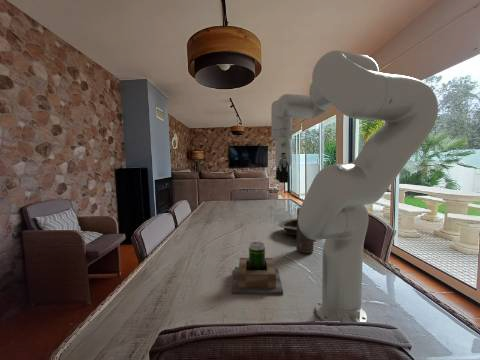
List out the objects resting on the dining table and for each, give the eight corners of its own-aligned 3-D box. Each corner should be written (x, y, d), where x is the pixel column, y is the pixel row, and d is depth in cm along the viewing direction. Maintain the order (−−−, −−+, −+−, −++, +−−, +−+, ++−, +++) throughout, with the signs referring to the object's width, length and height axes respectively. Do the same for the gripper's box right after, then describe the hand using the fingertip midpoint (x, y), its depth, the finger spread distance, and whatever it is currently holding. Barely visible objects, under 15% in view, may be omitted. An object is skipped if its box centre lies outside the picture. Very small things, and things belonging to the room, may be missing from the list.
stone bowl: (333, 242, 114) (332, 224, 113) (282, 246, 115) (281, 228, 114) (317, 226, 138) (316, 211, 137) (275, 230, 139) (274, 215, 138)
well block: (283, 294, 71) (283, 277, 71) (231, 293, 72) (231, 277, 72) (277, 269, 87) (277, 255, 87) (235, 269, 88) (234, 255, 88)
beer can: (268, 277, 80) (268, 243, 79) (258, 284, 76) (258, 248, 75) (255, 272, 83) (255, 240, 82) (246, 278, 80) (245, 244, 78)
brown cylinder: (314, 255, 99) (314, 210, 97) (296, 254, 101) (296, 209, 99) (312, 249, 107) (312, 206, 105) (296, 248, 108) (296, 205, 106)
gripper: (296, 132, 77) (296, 183, 78) (288, 137, 94) (288, 179, 96) (273, 132, 77) (273, 183, 79) (269, 137, 94) (269, 179, 96)
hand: (281, 181), depth 87 cm, fingers open, 9 cm apart
